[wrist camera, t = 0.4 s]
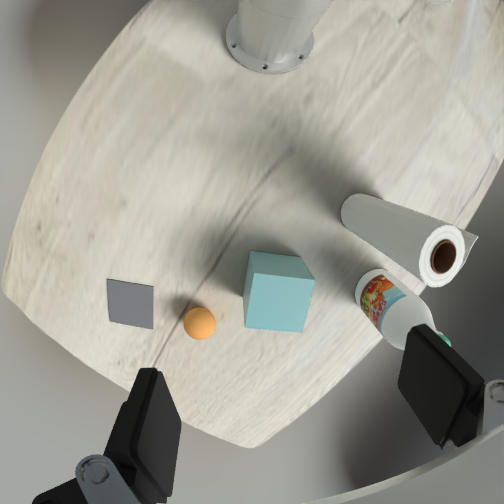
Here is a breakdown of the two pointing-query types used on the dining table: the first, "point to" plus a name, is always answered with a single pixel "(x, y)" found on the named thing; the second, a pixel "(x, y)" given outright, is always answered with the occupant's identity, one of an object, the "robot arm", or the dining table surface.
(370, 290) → the milk bottle
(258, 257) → the light teal cube-like block
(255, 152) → the dining table surface
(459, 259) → the paper towel roll
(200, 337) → the ball
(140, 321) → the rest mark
